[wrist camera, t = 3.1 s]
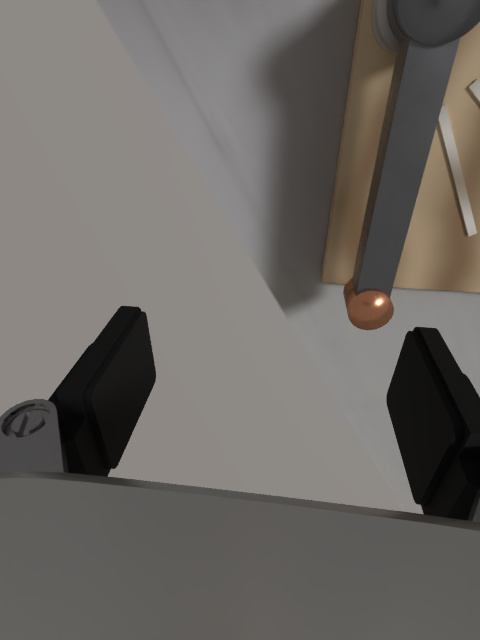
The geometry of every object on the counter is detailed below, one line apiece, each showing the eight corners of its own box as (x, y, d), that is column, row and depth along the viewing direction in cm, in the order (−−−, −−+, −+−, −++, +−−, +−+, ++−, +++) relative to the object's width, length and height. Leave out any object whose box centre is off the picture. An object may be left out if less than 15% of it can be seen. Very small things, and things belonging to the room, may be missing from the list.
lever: (396, -60, 19) (414, -82, 16) (488, -63, 18) (522, -86, 15) (333, 305, 31) (336, 327, 28) (387, 309, 30) (396, 332, 28)
